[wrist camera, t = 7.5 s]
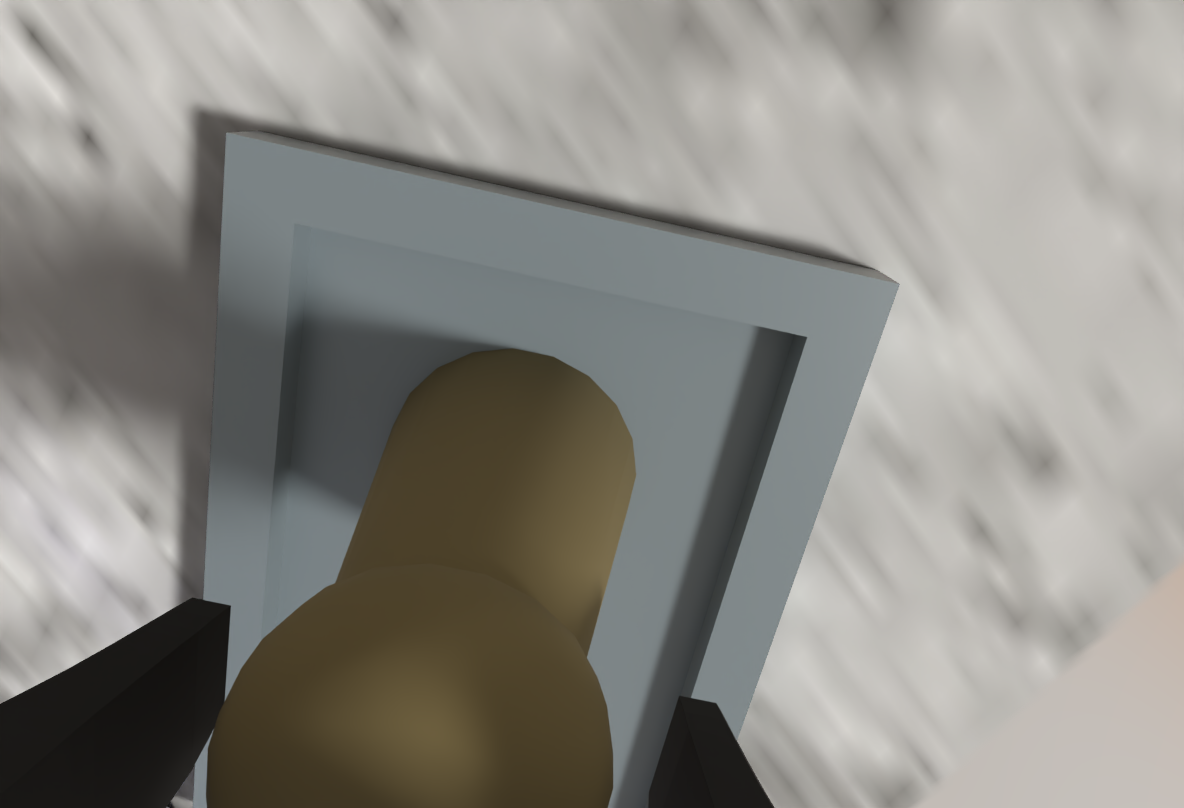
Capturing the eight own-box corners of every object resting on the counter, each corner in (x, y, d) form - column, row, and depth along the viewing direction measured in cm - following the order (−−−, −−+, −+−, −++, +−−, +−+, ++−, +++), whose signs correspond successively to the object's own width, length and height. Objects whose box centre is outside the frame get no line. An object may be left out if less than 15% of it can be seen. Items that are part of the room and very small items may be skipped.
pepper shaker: (342, 482, 20) (23, 894, 9) (484, 295, 18) (288, 547, 7) (535, 616, 21) (446, 1116, 10) (688, 452, 19) (763, 859, 9)
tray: (662, 895, 25) (664, 942, 23) (216, 808, 24) (190, 851, 23) (877, 270, 18) (900, 283, 16) (258, 130, 17) (226, 132, 16)
